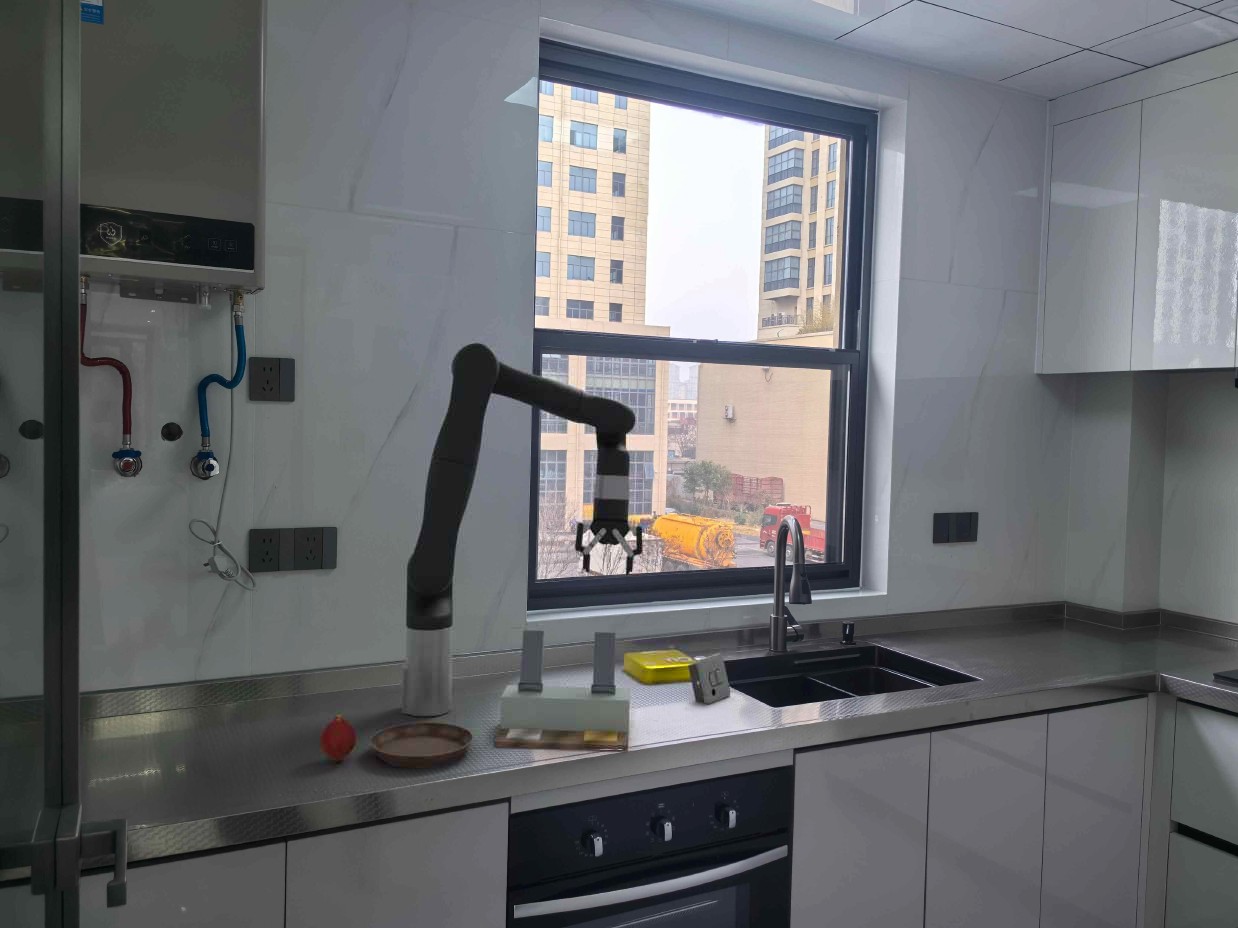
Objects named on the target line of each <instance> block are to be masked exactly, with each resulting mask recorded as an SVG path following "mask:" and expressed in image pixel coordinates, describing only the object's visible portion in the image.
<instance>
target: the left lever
mask: <svg viewBox="0 0 1238 928" xmlns="http://www.w3.org/2000/svg"><path fill="white" fill-rule="evenodd" d="M522 631H523V632H522V643H521V644H522V646H521V660H520V661H521V663H520V675H519V676H520V678H519V679H520V680H519V682H518V691H543V686H544V683H543V682H542V681H543V665H544V663H543V662H544V649H545V648H544V647H545V646H544V645H545V630H528V629H527V630H522Z"/></svg>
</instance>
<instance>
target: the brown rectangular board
mask: <svg viewBox="0 0 1238 928" xmlns="http://www.w3.org/2000/svg"><path fill="white" fill-rule="evenodd" d="M629 732H630V731H629ZM629 732H612V731H564V730H542V729H501V728H500V729H499V731H498V733H497V735H496V737H495V738H494V741H493V747H494V748H515V749H516V748H517V749H519V748H521V749H554V750H556V749H557V750H581V749H622V750H628V748H629V736H628V735H629V734H630V733H629Z"/></svg>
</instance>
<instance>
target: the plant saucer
mask: <svg viewBox="0 0 1238 928" xmlns="http://www.w3.org/2000/svg"><path fill="white" fill-rule="evenodd" d="M473 740H474V735H473V733H472V732H471V731H470V730H469V729H466V728H465V727H462V726H459V725H456V724H449V723H445V722H444V723H442V722H412V723H405V724H399V725H395V726H391V727H387V728H384V729H381V730H378V731H376V732H375V733H374V734H373V735H372V736H371V737H370V739H369V741H368V743H369V745H370V747H371V749H372V751H373V752H374V754H375V755H377V757H378V758H379V759H380V760H381V761H382V762H384V763H386V764H388V765H391V766H394V767H400V768H409V769H417V768H418V769H422V768H423V769H425V768H431V767H436V766H442V765H446V764H449V763H451V762H454V761H456V760H457V759H459V758H460V757H461V756H462V755H463V754H464V753H465V752H466V751H467V749H468V748H469V747H470V745H471V743H472V742H473Z"/></svg>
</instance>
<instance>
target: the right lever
mask: <svg viewBox="0 0 1238 928" xmlns="http://www.w3.org/2000/svg"><path fill="white" fill-rule="evenodd" d="M616 633H617V632H602V631H601V632H598V631H597V632H596V631H594V649H593V651H594V652H593V675H592V676H593V678H592V684H591V686H590V687H591V693H615V692H616V688H617V687H616V686H617V685H616V684H615V669H616V667H615V665H616V638H617V637H616V636H617V634H616Z"/></svg>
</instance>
